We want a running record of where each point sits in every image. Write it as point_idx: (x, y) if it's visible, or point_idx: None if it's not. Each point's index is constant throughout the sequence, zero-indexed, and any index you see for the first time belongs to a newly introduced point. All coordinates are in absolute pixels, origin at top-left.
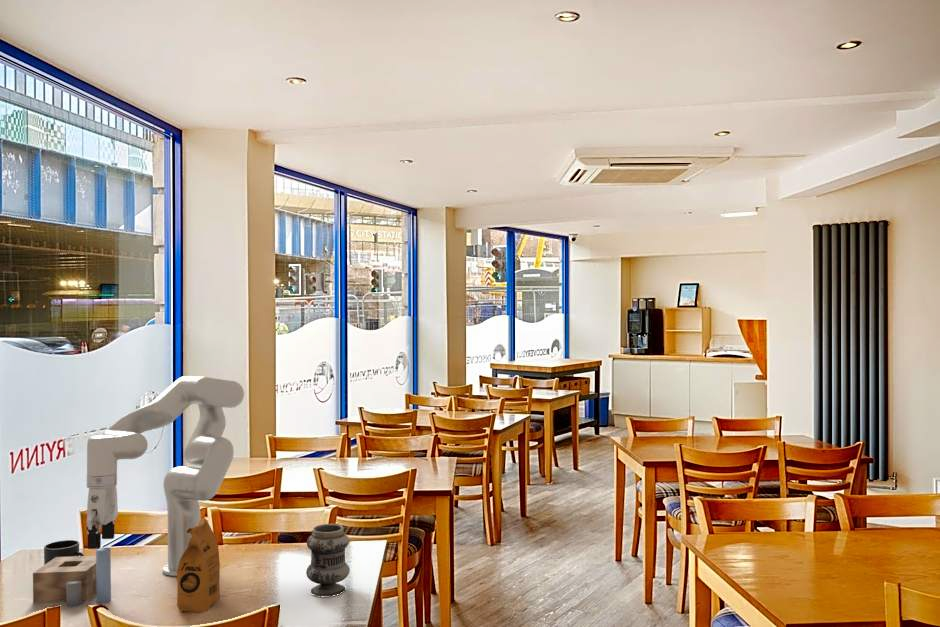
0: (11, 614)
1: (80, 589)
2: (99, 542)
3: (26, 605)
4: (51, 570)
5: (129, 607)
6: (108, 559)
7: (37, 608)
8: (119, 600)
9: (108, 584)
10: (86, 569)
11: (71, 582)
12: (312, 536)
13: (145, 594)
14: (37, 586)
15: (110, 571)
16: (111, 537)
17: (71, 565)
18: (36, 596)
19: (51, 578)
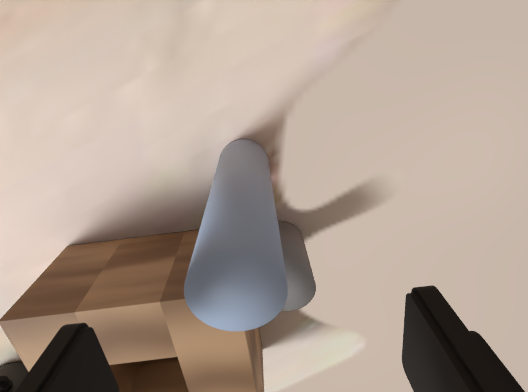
0: (348, 351)
1: (286, 250)
2: (464, 328)
3: (284, 352)
4: None
5: (317, 15)
6: (251, 214)
7: (308, 318)
8: (238, 103)
9: (252, 161)
10: None
11: (288, 297)
12: None
13: (161, 16)
14: (262, 382)
15: (230, 181)
16: (89, 341)
17: (122, 382)
18: (261, 357)
19: (256, 374)
